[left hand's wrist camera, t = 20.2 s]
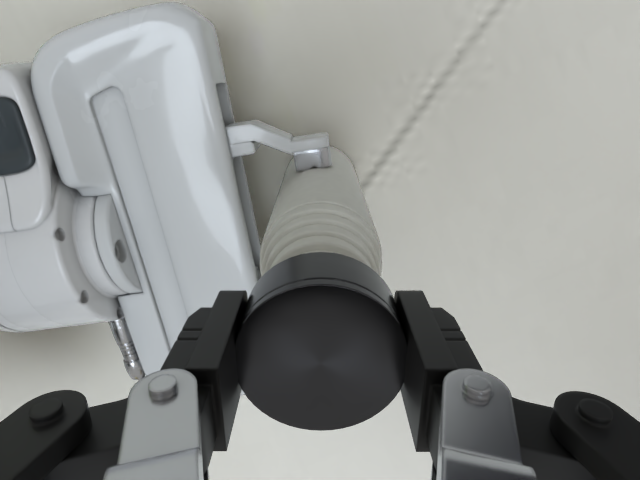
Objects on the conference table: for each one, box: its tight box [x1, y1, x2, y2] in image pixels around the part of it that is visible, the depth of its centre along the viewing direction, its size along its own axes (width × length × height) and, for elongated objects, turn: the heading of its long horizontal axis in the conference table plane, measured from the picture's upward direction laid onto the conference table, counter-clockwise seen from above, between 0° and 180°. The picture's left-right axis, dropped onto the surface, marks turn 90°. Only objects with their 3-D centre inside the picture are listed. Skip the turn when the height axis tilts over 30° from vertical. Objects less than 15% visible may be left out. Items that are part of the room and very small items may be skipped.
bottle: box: [260, 146, 382, 277], centre depth 20 cm, size 5×5×18 cm
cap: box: [235, 252, 408, 430], centre depth 12 cm, size 4×4×2 cm
